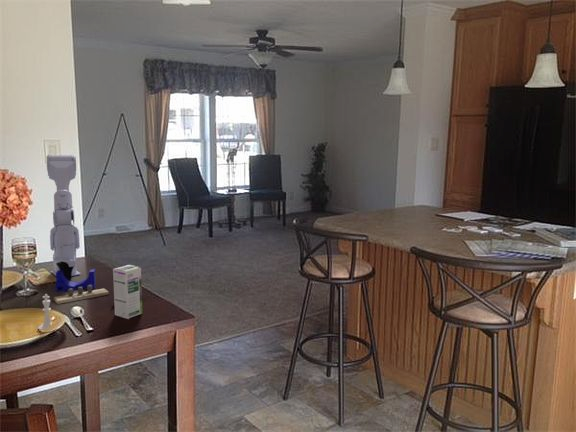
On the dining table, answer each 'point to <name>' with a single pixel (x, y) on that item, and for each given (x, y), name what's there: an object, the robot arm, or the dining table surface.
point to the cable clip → (65, 284)
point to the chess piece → (46, 314)
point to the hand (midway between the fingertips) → (66, 282)
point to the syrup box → (127, 291)
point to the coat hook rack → (80, 294)
